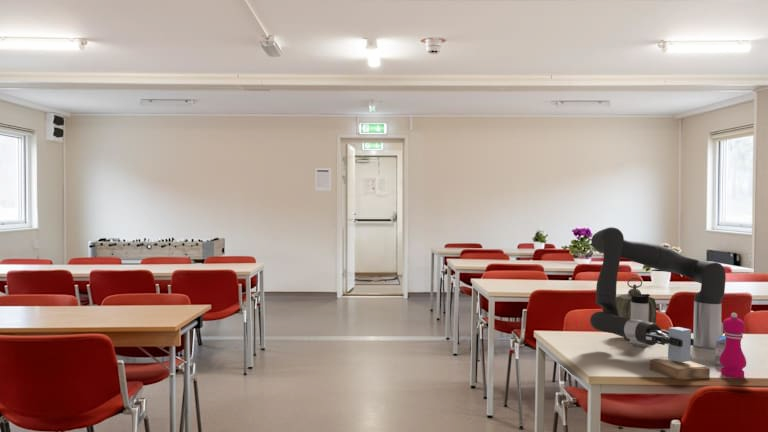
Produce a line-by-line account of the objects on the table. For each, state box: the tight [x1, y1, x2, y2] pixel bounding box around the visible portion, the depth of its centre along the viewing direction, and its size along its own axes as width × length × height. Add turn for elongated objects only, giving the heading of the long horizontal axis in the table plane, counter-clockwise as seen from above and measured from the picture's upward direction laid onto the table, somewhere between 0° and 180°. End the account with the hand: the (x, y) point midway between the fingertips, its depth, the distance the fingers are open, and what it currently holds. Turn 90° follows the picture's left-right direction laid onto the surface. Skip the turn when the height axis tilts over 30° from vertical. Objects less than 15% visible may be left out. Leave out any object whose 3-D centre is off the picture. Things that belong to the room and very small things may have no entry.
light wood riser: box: [649, 357, 711, 381], centre depth 176 cm, size 12×12×3 cm
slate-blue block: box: [667, 326, 692, 362], centre depth 175 cm, size 4×4×10 cm
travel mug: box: [629, 293, 651, 348], centre depth 213 cm, size 6×7×20 cm
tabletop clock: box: [616, 277, 657, 341], centre depth 225 cm, size 14×9×25 cm, turn 104°
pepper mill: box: [720, 312, 747, 379], centre depth 175 cm, size 7×7×20 cm
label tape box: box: [714, 335, 726, 367], centre depth 189 cm, size 9×4×12 cm, turn 141°
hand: (687, 343), depth 173 cm, fingers closed on slate-blue block, 4 cm apart
